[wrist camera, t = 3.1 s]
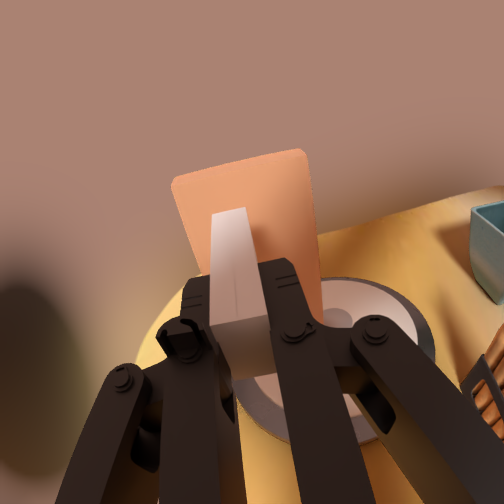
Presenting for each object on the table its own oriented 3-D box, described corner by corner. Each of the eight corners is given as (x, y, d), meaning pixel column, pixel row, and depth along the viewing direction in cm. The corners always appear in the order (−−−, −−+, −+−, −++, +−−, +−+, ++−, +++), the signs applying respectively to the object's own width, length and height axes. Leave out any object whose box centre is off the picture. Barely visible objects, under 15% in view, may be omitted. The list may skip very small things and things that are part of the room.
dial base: (468, 357, 21) (482, 329, 18) (296, 494, 16) (291, 486, 13) (347, 263, 36) (346, 236, 34) (204, 336, 31) (192, 310, 29)
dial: (376, 273, 31) (375, 115, 22) (442, 383, 18) (513, 178, 9) (235, 308, 31) (186, 150, 22) (249, 442, 19) (143, 258, 9)
